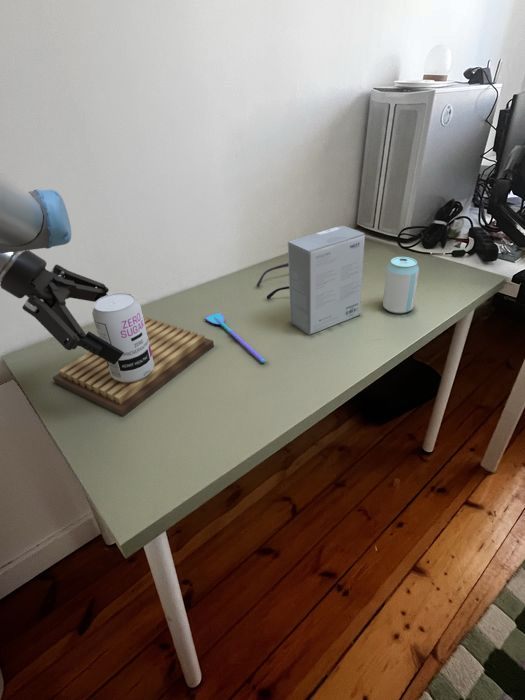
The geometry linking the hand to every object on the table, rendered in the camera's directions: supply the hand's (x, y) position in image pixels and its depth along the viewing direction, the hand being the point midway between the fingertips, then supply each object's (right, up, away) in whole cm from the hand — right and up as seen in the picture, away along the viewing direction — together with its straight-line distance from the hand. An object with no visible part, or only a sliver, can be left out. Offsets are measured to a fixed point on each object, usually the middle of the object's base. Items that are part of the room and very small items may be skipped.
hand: (126, 337), depth 79 cm
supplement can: (0, -7, +4) cm, 8 cm away
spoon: (+19, 0, +18) cm, 26 cm away
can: (+58, +8, +26) cm, 64 cm away
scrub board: (-1, -5, +12) cm, 13 cm away
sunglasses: (+32, +14, +39) cm, 52 cm away
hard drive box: (+40, +5, +23) cm, 46 cm away
